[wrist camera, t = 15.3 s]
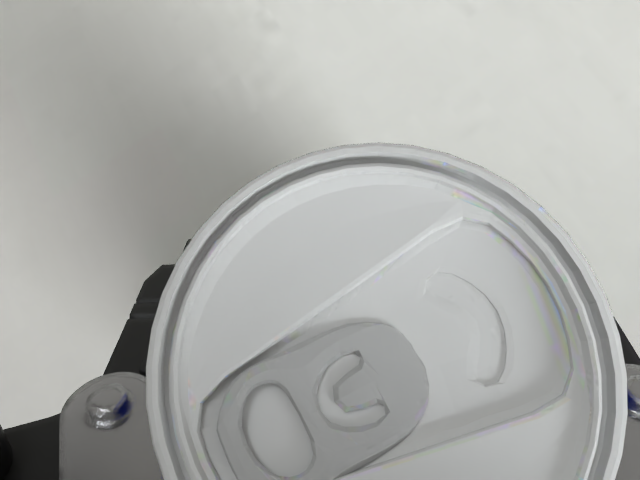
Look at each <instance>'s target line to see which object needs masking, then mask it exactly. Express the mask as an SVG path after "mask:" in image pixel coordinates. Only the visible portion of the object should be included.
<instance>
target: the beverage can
mask: <svg viewBox="0 0 640 480" xmlns="http://www.w3.org/2000/svg"><path fill="white" fill-rule="evenodd" d="M146 406H147V413H148V419H149V425H150V431H151V437H152V444H153V447H154V450H155V453H156V456H157V459H158V462H159V466H160V469H161V472H162V475H163V478H164V480H615V478H616V474H617V471H618V468H619V464H620V461H621V458H622V453H623V446H624V438H625V430H626V423H627V415H628V408H627V373H626V367H625V362H624V356H623V351H622V345H621V339H620V334H619V332H618V329H617V326H616V323H615V320H614V317H613V314H612V311H611V308H610V305H609V302H608V299H607V297H606V295H605V293H604V291H603V289H602V287H601V285H600V283H599V281H598V279H597V278H596V276H595V274H594V272H593V270H592V268H591V266H590V264H589V263H588V261H587V260H586V258H585V257H584V256H583V254H582V253H581V251H580V250H579V249H578V247H577V246H576V244H575V243H574V242H573V240H572V239H571V237H570V236H569V235H568V233H567V232H566V231H565V230H564V229H563V228H562V227H561V226H560V225H559V224H558V223H557V222H556V221H555V220H554V219H553V218H552V217H551V216H550V215H549V214H548V213H547V211H546V210H545V209H544V208H543V207H542V206H540V205H539V204H538V203H537V202H535V201H534V200H533V199H531V198H530V197H529V196H528V195H526V194H525V193H524V192H522V191H521V190H520V189H518V188H517V187H516V186H515V185H513V184H512V183H510V182H508V181H507V180H505V179H503V178H501V177H499V176H498V175H496V174H494V173H492V172H491V171H489V170H487V169H485V168H484V167H482V166H479V165H477V164H474V163H472V162H469V161H466V160H464V159H461V158H459V157H456V156H454V155H451V154H448V153H444V152H440V151H436V150H431V149H427V148H423V147H418V146H414V145H403V144H390V143H366V144H352V145H342V146H337V147H333V148H329V149H324V150H320V151H315V152H311V153H308V154H306V155H303V156H301V157H298V158H295V159H293V160H290V161H288V162H285V163H283V164H280V165H278V166H276V167H274V168H273V169H271V170H269V171H268V172H266V173H264V174H262V175H261V176H259V177H257V178H256V179H254V180H252V181H250V182H249V183H247V184H246V185H245V186H244V187H242V188H241V189H240V190H239V191H237V192H236V193H235V194H234V195H233V196H231V197H230V198H229V199H228V200H226V201H225V202H224V203H223V204H221V205H220V207H219V208H218V209H217V210H216V211H215V212H214V213H213V214H212V215H211V216H210V218H209V219H208V220H207V221H206V222H205V223H204V224H203V225H202V226H201V227H200V229H199V230H198V231H197V232H196V234H195V235H194V237H193V238H192V240H191V241H190V243H189V244H188V246H187V247H186V249H185V250H184V252H183V253H182V255H181V256H180V258H179V259H178V261H177V263H176V265H175V267H174V269H173V271H172V273H171V275H170V278H169V280H168V282H167V284H166V286H165V288H164V290H163V292H162V295H161V298H160V302H159V305H158V308H157V312H156V315H155V318H154V322H153V325H152V328H151V335H150V342H149V349H148V356H147V363H146Z"/></svg>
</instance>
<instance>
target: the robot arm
mask: <svg viewBox="0 0 640 480" xmlns="http://www.w3.org/2000/svg"><path fill="white" fill-rule="evenodd" d="M191 240H192V239H189V240H188V241H187V243H186V246H185V248H184V250H185V249H186V247H187V246H188V244H189V243H190V241H191ZM183 252H184V251H183ZM174 267H175V265H162V266H161V267H159V268H158V269H157V270H156V271H155V272H154V273H153V274H152V275H151V276H150V277H149V278H148V279H146V280H145V281H144V284H143V286H142V288H141V290H140V293H139V295H138V297H137V299H136V304H134V306H133V309H132V311H131V313H130V319H128V320H127V322H126V324H125V327H124V329H123V331H122V333H121V336H120V338H119V340H118V343H117V345H116V347H115V349H114V352H113V354H112V356H111V358H110V361H109V363H108V365H107V367H106V370H105V372H104V374H103V376H100V377H97V378H95V379H93V380H91V381H89V382H87V383H86V384H84V385H83V386H81V387H80V388H79V389H77V390H76V391H75V392H74V393H73V394H72V395H71V396H70V397H69V399H68V400H67V401H66V403H65V405H64V406H63V408H62V411H61V413H60V414H57V415H55V416H52V417H48V418H45V419H41V420H38V421H34V422H30V423H27V424H23V425H19V426H16V427H12V428H8V429H4V430H3V429H2V427H1V425H0V480H164V478H163V475H162V472H161V469H160V466H159V462H158V459H157V456H156V453H155V450H154V447H153V444H152V437H151V431H150V425H149V419H148V413H147V406H146V363H147V356H148V349H149V342H150V335H151V328H152V325H153V322H154V318H155V315H156V312H157V308H158V305H159V302H160V298H161V295H162V292H163V290H164V288H165V286H166V284H167V282H168V280H169V278H170V275H171V273H172V271H173V269H174ZM613 317H614V316H613ZM614 320H615V323H616V326H617V329H618V332H619V334H620V339H621V345H622V351H623V356H624V362H625V367H626V373H627V408H628V415H627V423H626V430H625V438H624V446H623V453H622V458H621V461H620V464H619V468H618V471H617V474H616V478H615V480H640V358H639V357H638V355H637V354H636V352H635V350H634V349H633V347H632V345H631V344H630V342H629V341H628V339H627V337H626V336H625V334H624V332H623V331H622V329H621V328H620V326H619V324H618V323H617V321H616V319H615V318H614Z"/></svg>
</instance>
